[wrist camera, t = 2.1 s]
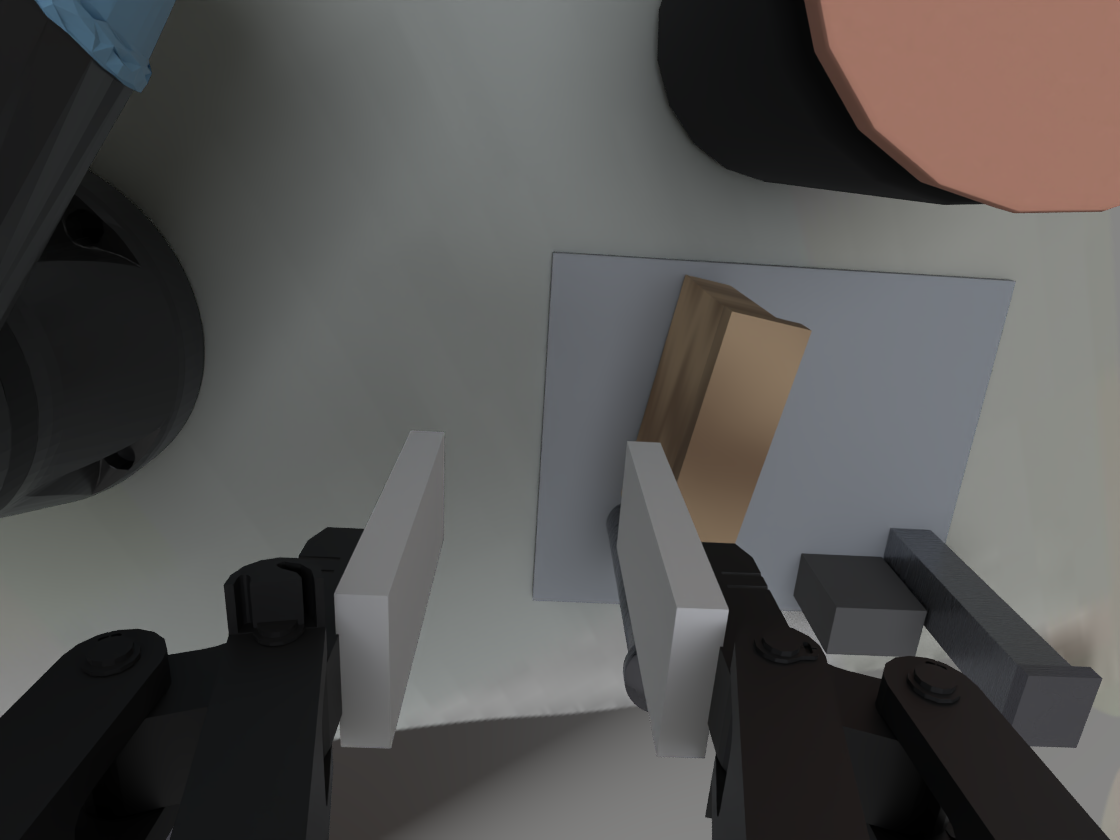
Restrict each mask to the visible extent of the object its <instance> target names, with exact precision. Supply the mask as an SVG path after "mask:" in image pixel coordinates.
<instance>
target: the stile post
mask: <svg viewBox="0 0 1120 840" xmlns="http://www.w3.org/2000/svg"><path fill="white" fill-rule="evenodd" d="M883 559H884V560H885V562H886V563H887V564H888V565H889V566H890V568H891V569H892V570H893V571H894V572H895V574H896V575H897V576H898V577H899V578H900V579H901V581H902V582H903V583H904V584H905V585H906V587H907V588H908V589H909V590H910V591H911V593H912V594H913V595H914V596H915V597H916V598H917V600H918V601H919V602H920V603H921V604H922V606H923V607H924V608H925V609H926V610H927V614H926V617H925V621H924V626H925V627H926V628H927V630H928V631H929V632H930V633H931V635H932V636H933V637H934V638H935V640H936V641H937V642H938V643H939V645H940V646H941V647H942V648H943V649H944V651H945V652H946V653H947V654H948V656H949V657H950V658H951V659H952V661H953V662H954V663H955V664H956V666H957V667H958V668H959V669H960V670H961V672H962V673H963V674H964V675H966V676H967V677H968V678H969V679H970V680H971V681H972V682H973V683H975V684H976V685H977V686H978V687H979V688H980V689H981V691H982V692H983V693H984V694H985V695H986V696H987V698H988V699H989V700H990V701H991V702H992V703H993V705H994V706H995V707H996V708H997V709H998V710H999V711H1000V713H1001V714H1002V715H1003V716H1004V717H1005V718H1006V720H1007V721H1008V722H1009V723H1010V724H1011V725H1012V727H1013V728H1014V729H1015V730H1016V731H1017V732H1018V734H1019V735H1020V736H1021V737H1022V738H1023V739H1024V741H1025V742H1026V743H1027V744H1028V745H1029V746H1041V747H1042V746H1043V747H1071V748H1076V747H1077V744H1078V742H1079V739H1080V736H1081V734H1082V731H1083V728H1084V726H1085V723H1086V721H1087V718H1088V715H1089V713H1090V710H1091V707H1092V705H1093V702H1094V699H1095V697H1096V694H1097V691H1098V689H1099V686H1100V683H1101V681H1102V678H1101V677H1100V676H1099V675H1098V674H1097V673H1096V672H1095V671H1094V670H1093V669H1092V668H1091V667H1075V666H1071V665H1070V664H1069V663H1068V662H1067V661H1066V660H1064V659H1063V658H1062V657H1061V656H1060V655H1059V654H1058V653H1057V652H1056V651H1055V650H1054V649H1053V648H1052V647H1051V646H1050V645H1049V644H1048V643H1047V642H1046V641H1045V640H1044V639H1043V638H1042V637H1041V636H1040V635H1039V634H1038V633H1037V632H1036V631H1035V630H1034V629H1032V628H1031V627H1030V626H1029V625H1028V624H1027V623H1026V622H1025V621H1024V620H1023V619H1022V618H1021V617H1020V616H1019V615H1018V614H1017V613H1016V612H1015V611H1014V610H1013V609H1012V608H1011V607H1010V606H1009V605H1008V604H1007V603H1006V602H1005V601H1004V600H1003V599H1002V598H1000V597H999V596H998V595H997V594H996V593H995V592H994V591H993V590H992V589H991V588H990V587H989V586H988V585H987V584H986V583H985V582H984V581H983V580H982V579H981V578H980V577H979V576H978V575H977V574H976V573H975V572H974V571H973V570H972V569H971V568H970V567H968V566H967V565H966V564H965V563H964V562H963V561H962V560H961V559H960V558H959V557H958V556H957V555H956V554H955V553H954V552H953V551H952V550H951V549H950V548H949V547H948V546H947V545H946V544H945V543H944V542H943V541H942V540H941V539H940V538H939V537H938V536H936V535H935V534H934V533H933V532H932V531H931V530H924V529H902V528H890V532H889V536H888V540H887V544H886V548H885V552H884V557H883Z"/></svg>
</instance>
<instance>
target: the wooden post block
mask: <svg viewBox="0 0 1120 840" xmlns="http://www.w3.org/2000/svg"><path fill="white" fill-rule="evenodd" d="M811 332H812V330H810V329H809V328H807V327H806V326H804V325H802V324H800V323H796V322H792V321H788V320H784V319H780V318H776V317H775V316H773V315H772V314H770V313H769V312H768V311H766V310H765V309H763V308H762V307H760V306H759V305H758V304H756V303H755V302H753V301H752V300H750V299H749V298H748V297H746V296H745V295H743V294H742V293H740V292H739V291H738V290H736V289H735V288H733V287H732V286H730V285H726V284H722V283H718V282H714V281H710V280H706V279H701V278H697V277H693V276H689V275H685V278H684V282H683V285H682V288H681V292H680V295H679V299H678V302H677V305H676V309H675V312H674V315H673V319H672V322H671V326H670V329H669V332H668V336H667V339H666V342H665V346H664V349H663V353H662V356H661V359H660V363H659V366H658V370H657V373H656V376H655V380H654V383H653V386H652V390H651V393H650V397H649V400H648V403H647V407H646V410H645V413H644V417H643V420H642V424H641V427H640V430H639V434H638V437H637V440H636V441H637V442H657V443H661V446H662V448H663V450H664V453H665V455H666V458H667V460H668V463H669V465H670V467H671V470H672V472H673V475H674V477H675V480H676V482H677V485H678V487H679V489H680V492H681V494H682V497H683V499H684V502H685V504H686V506H687V509H688V511H689V514H690V516H691V519H692V521H693V523H694V526H695V528H696V531H697V533H698V536H699V538H700V540H701V542H715V543H735V542H736V539H737V537H738V534H739V531H740V528H741V526H742V523H743V520H744V517H745V514H746V512H747V509H748V506H749V503H750V501H751V498H752V495H753V492H754V490H755V487H756V484H757V481H758V478H759V476H760V473H761V470H762V467H763V465H764V462H765V459H766V456H767V454H768V451H769V448H770V445H771V443H772V440H773V437H774V434H775V431H776V429H777V426H778V423H779V420H780V418H781V415H782V412H783V409H784V407H785V404H786V401H787V398H788V395H789V393H790V390H791V387H792V384H793V382H794V379H795V376H796V373H797V371H798V368H799V365H800V362H801V360H802V357H803V354H804V351H805V348H806V346H807V343H808V340H809V337H810V335H811ZM621 496H622V491H621Z"/></svg>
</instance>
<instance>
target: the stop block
mask: <svg viewBox="0 0 1120 840" xmlns="http://www.w3.org/2000/svg"><path fill="white" fill-rule="evenodd" d="M793 596H794V598H795V600H796V601H797V603H798V605H799V607H800V608H801V610H802V612H803V614H804V615H805V617H806V619H807V621H808V622H809V624H810V626H811V628H812V629H813V631H814V633H815V635H816V636H817V638H818V640H819V642H820V643H821V645H822V647H823V649H824V650H825V652H826V654H844V655H871V656H897V657H904V656H915V654H916V651H917V647H918V643H919V640H920V636H921V632H922V628H923V625H924V621H925V617H926V614H927V610H926V609H925V608H924V607H923V606H922V604H921V603H920V602H919V601H918V600H917V598H916V597H915V596H914V595H913V594H912V593H911V591H910V590H909V589H908V588H907V587H906V585H905V584H904V583H903V582H902V581H901V579H900V578H899V577H898V576H897V575H896V574H895V572H894V571H893V570H892V569H891V568H890V566H889V565H888V564H887V563H886V562H885V560H884V559H883V558H882V557H874V556H851V555H828V554H806V553H801V558H800V563H799V568H798V574H797V579H796V584H795V589H794V594H793Z"/></svg>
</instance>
